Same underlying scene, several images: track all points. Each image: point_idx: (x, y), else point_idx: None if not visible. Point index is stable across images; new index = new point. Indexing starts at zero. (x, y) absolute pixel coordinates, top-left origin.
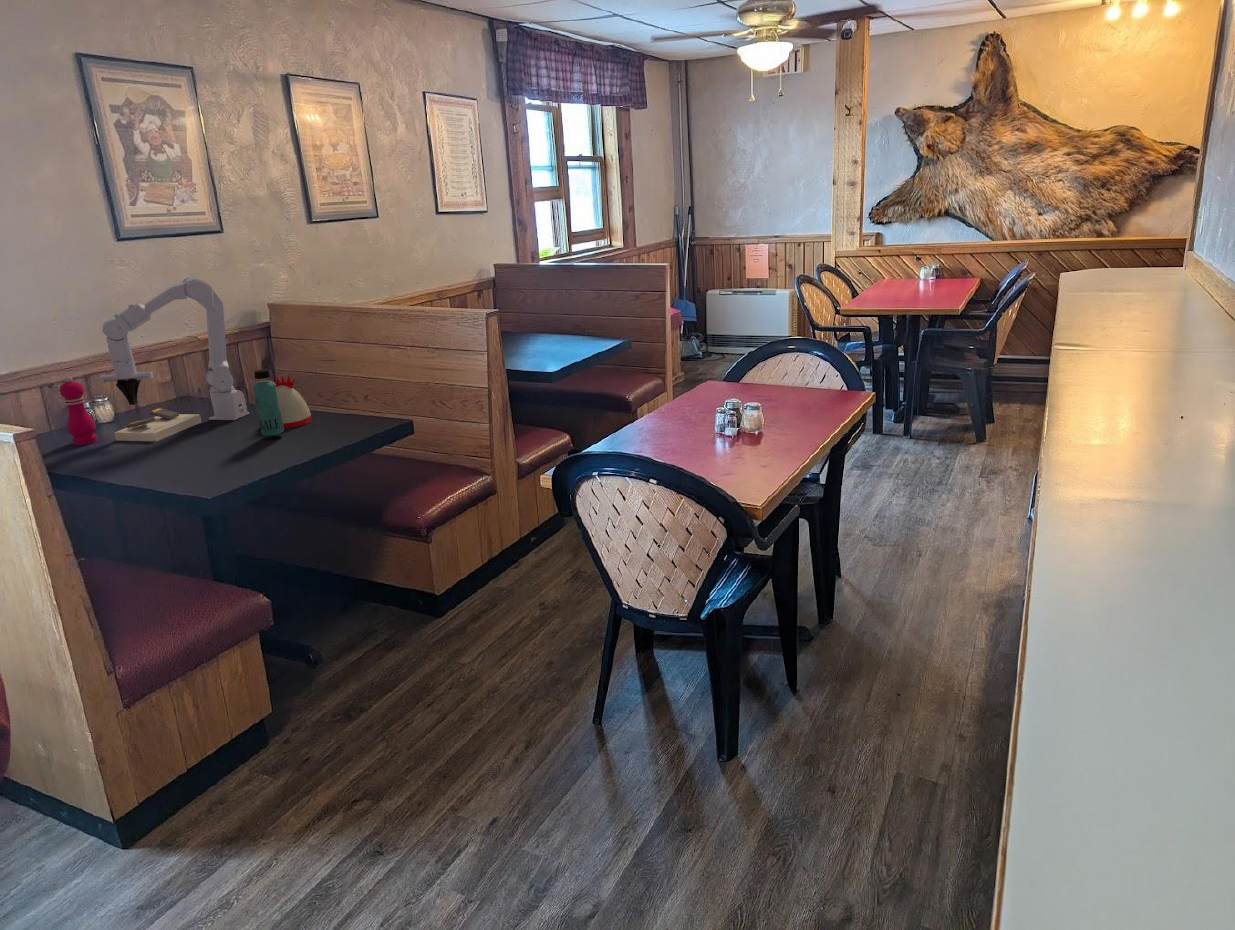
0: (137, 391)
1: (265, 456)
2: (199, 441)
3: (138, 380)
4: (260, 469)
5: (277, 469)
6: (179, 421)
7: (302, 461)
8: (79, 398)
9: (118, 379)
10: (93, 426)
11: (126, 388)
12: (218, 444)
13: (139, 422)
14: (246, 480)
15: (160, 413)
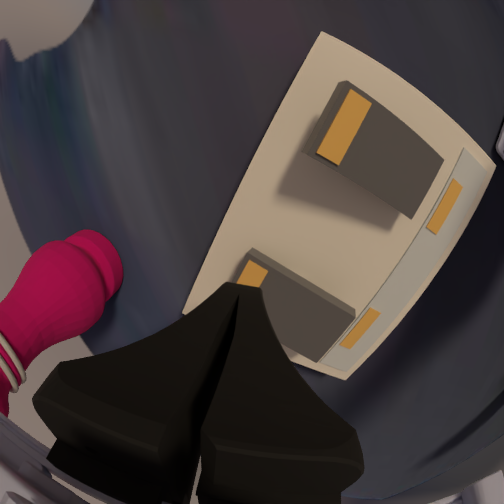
0: (280, 348)
1: (467, 443)
2: (436, 384)
3: (337, 496)
4: (442, 467)
5: (452, 465)
6: (435, 262)
7: (479, 450)
8: (10, 383)
9: (67, 482)
10: (99, 306)
11: (198, 453)
12: (454, 405)
13: (289, 347)
14: (419, 482)
15: (369, 180)
